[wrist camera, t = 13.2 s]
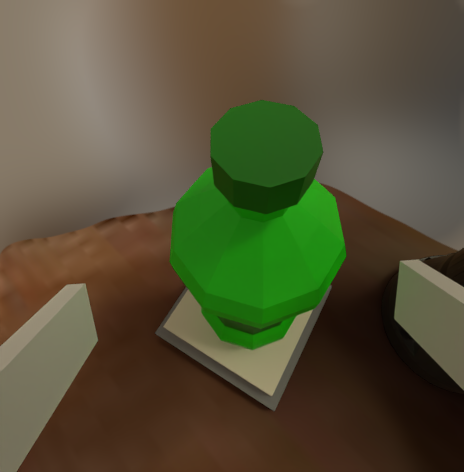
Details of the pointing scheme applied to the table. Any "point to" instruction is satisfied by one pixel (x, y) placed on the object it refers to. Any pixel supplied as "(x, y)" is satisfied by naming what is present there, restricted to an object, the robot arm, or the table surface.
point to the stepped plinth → (234, 378)
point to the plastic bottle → (258, 226)
